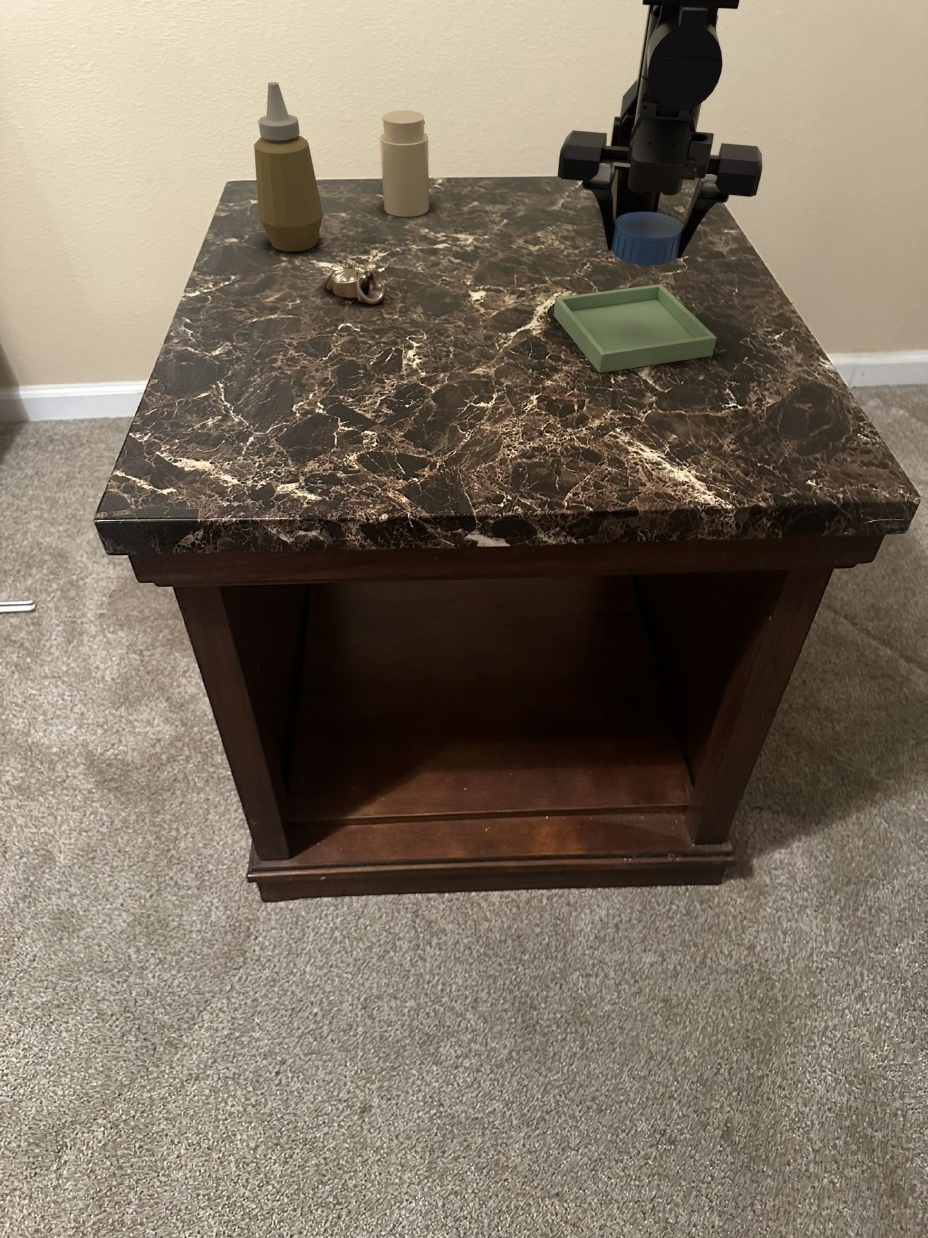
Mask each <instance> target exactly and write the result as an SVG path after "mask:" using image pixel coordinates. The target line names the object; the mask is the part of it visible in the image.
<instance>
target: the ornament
mask: <svg viewBox="0 0 928 1238" xmlns="http://www.w3.org/2000/svg"><path fill="white" fill-rule="evenodd" d="M335 261H336V263H338V264H339V265H338V264H335V263H334V264H332V265H331V271H330V273H328V275H326V277H325V279H324V280H323V282H322V286H323V287H324V288H326V290H328V291H332V293H333V294H334V295H335V296H338V297H341V298H348V299H352V298H353V299H355V298H357V300H358V302H360V303H365V304H369V305H375V304H376V305H377V304H378V303H380V302H381V301H382V299H384V297H385V294H386V293H385V292H386V285H385V283H384V281H383V278H382V276H381V274H380V272H379V270H378V266H377V264H376V263H375V262H372V261H369V262H367V261H364V263H363V264H362V263H354V262H353V261H348V260H347V259H343V258H341V257H339V256H336V257H335ZM367 286H368V293H367V294H364V292H363V289H364V288H366V287H367Z"/></svg>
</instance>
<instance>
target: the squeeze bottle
mask: <svg viewBox="0 0 928 1238" xmlns="http://www.w3.org/2000/svg"><path fill="white" fill-rule="evenodd" d="M266 99H267V101H266V115H263V116H260V117H259V119H258V120H257V121H258V128H259V129H258V130H259V134H260V137H259V138H258V139H257V140H256V142H255V143H254V144H253V149H254V150H253V151H254V166H255V178H256V196H257V211H258V219H259V221H260V224H261V226H262V228H263V230H264V233H266V237H267V238H268V240H269V241H270V244H271V246H272V248H274V249H277V250H279V251H282V252H290V253H293V252H303V251H306V250H310V249H312V248H313V247H315V246H316V245H317V243H318V241H319V237H320V236H319V235H320V231H321V226H322V221H323V216H324V212H323V208H322V203H321V199H320V193H319V188H318V183H317V179H316V173H315V168H314V164H313V158H312V154H311V149H310V144H309V142H308V140H307V139H306V138H305V137H303V136H301V135H300V133H301V131H300V123H299V119H298V117H297V116H295V115H293V114H289V112H288V109H287V106H286V103H285V100H284V97H283V93H282V90H281V87H280V84H279V82H276V81H271V82H268V83H267V98H266Z"/></svg>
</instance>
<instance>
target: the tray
mask: <svg viewBox="0 0 928 1238" xmlns="http://www.w3.org/2000/svg"><path fill="white" fill-rule="evenodd" d="M553 309H554V310H553V317H554V318H555V319H556V320H557V322H558V323H559V325H561V327H562V328H563V329H564V331H565V332H566V333H567V334H568V336H569V337H570V338H571V340H572V341H573V342H574V344H576V345H577V347H578V349H579V350H580V351H581V352H582V353H583V354H584V356H585V357H586V359H587V360H588V361H589V362H590V363H591V365H592V367H594V369H595V370H596V372H598V373H599V374H601V373H608V372H614V371H621V370H628V369H634V368H641V367H647V366H654V365H660V364H667V363H674V362H680V361H687V360H693V359H700V358H706V357H712V356H713V354H714V350H715V347H716V346H715V345H716V341H717V336H716V335H714V333H713V332H711V331H710V330H709V328H707V327H706V326H705V325H704V323H702V322H701V321H700V320H699V319H698V318H697V317H696V316H695V315H694V314H693V313H692V312H691V311H690V310H688V308H687V307H686V306H685V305H684V304H682V302H680V300H678V298H676V297H675V296H674V295H673V294H672V293H671V291H669V290H668V289H667V288H666V287H665V286H664V285H663V284H662V283H659V284H651V285H643V286H636V287H628V288H620V289H613V290H604V291H597V292H590V293H581V294H574V295H567V296H559V297H555V298H554V308H553Z"/></svg>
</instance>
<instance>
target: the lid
mask: <svg viewBox="0 0 928 1238" xmlns="http://www.w3.org/2000/svg"><path fill="white" fill-rule="evenodd" d="M683 227H684V224H682V222H680V221H679V220H678V219H677V218H676V217H673V216H670V215H668V214H664V213H662V214H660V213H654V212H633V213H627V214H624V215H622V216H620V217H618V218H617V219H616V221H615V227H614V237H613V243H612V251H611V253H612V254H613V255H614V257H615V258H617V259H619V260H621V261H623V262H625V263H628V264H631V265H632V264H633V265H637V266H644V267H646V266H647V267H653V266H663V265H666V264H669V263H672V262H673V261H676V259H678V258H677V256H678V249H679V244H680V240H681V237H682V231H683Z"/></svg>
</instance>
